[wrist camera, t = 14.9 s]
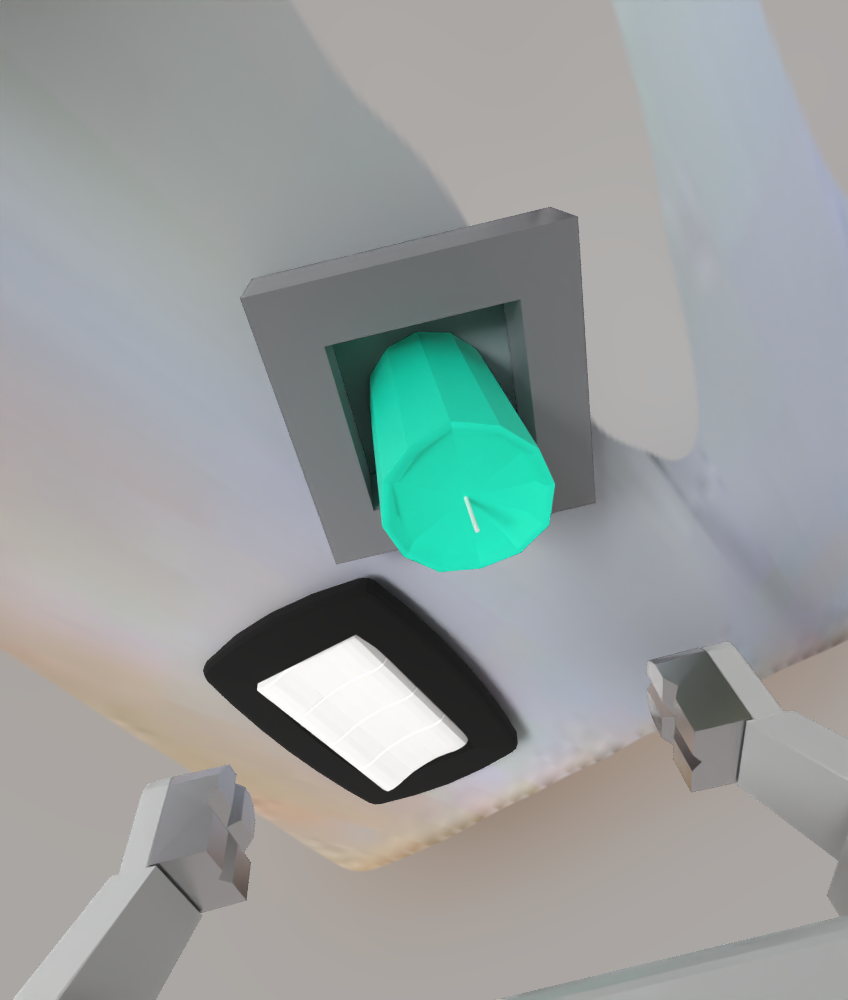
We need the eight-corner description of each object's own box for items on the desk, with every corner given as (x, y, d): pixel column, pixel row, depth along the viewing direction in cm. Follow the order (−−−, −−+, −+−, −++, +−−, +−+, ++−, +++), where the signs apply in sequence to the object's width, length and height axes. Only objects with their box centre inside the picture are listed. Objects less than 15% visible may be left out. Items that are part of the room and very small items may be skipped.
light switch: (173, 686, 35) (368, 583, 31) (187, 647, 38) (370, 548, 34) (371, 828, 45) (539, 763, 41) (372, 790, 47) (531, 726, 43)
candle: (509, 349, 29) (602, 470, 18) (466, 459, 31) (526, 616, 21) (387, 314, 27) (415, 423, 17) (353, 432, 30) (360, 587, 20)
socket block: (252, 279, 26) (240, 298, 23) (550, 206, 26) (577, 216, 23) (336, 524, 32) (336, 564, 30) (572, 468, 32) (595, 502, 29)
